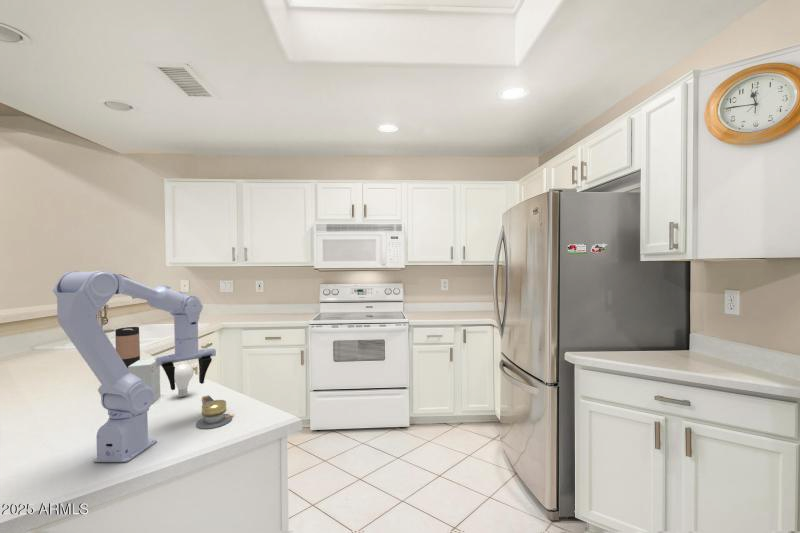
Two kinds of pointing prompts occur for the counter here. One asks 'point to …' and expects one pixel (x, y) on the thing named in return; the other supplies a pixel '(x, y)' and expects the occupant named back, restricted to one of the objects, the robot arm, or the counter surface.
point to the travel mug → (128, 344)
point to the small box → (147, 374)
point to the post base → (210, 426)
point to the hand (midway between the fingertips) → (187, 385)
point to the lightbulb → (183, 378)
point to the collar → (212, 407)
